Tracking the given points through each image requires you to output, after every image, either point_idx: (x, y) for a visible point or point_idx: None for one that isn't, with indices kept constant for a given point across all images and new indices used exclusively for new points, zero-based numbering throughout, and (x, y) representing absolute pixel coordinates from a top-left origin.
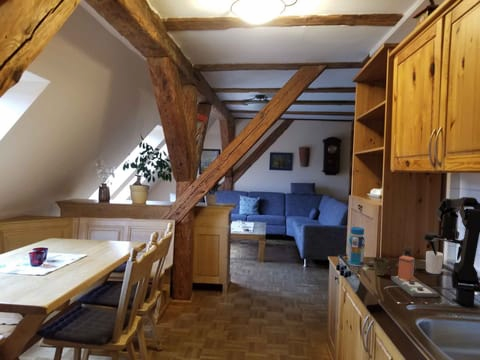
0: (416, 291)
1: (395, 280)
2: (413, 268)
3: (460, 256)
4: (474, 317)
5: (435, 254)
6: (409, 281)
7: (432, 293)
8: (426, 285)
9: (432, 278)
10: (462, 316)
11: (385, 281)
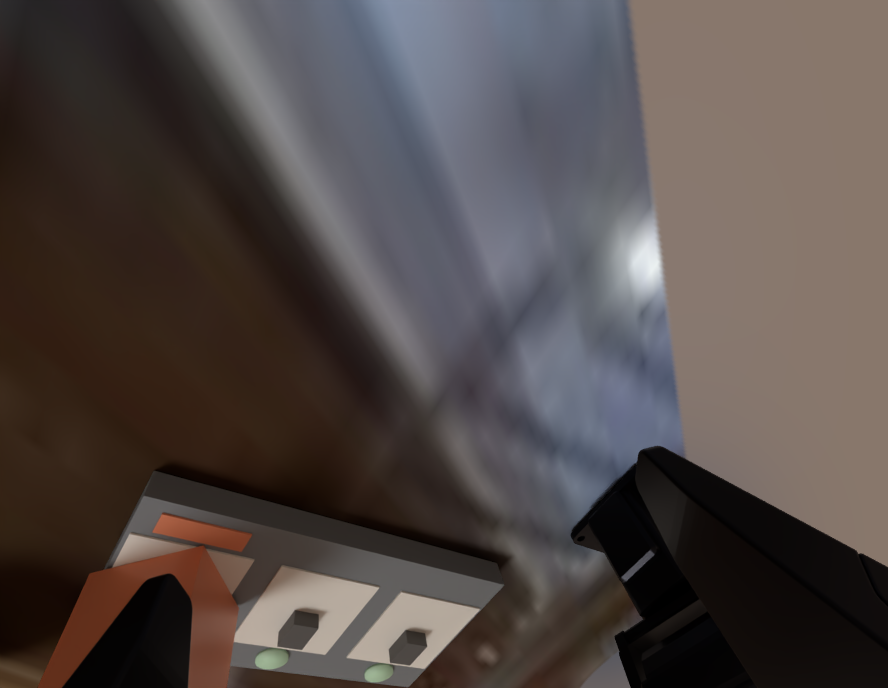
0: (406, 666)
1: None
2: None
3: (758, 510)
4: None
5: (185, 641)
6: (245, 602)
7: (478, 612)
8: (372, 553)
9: (193, 246)
10: None
11: None
